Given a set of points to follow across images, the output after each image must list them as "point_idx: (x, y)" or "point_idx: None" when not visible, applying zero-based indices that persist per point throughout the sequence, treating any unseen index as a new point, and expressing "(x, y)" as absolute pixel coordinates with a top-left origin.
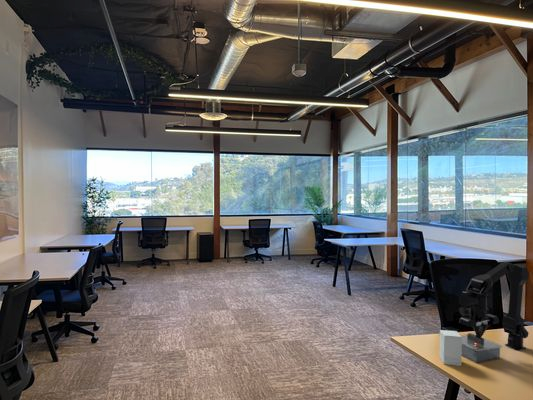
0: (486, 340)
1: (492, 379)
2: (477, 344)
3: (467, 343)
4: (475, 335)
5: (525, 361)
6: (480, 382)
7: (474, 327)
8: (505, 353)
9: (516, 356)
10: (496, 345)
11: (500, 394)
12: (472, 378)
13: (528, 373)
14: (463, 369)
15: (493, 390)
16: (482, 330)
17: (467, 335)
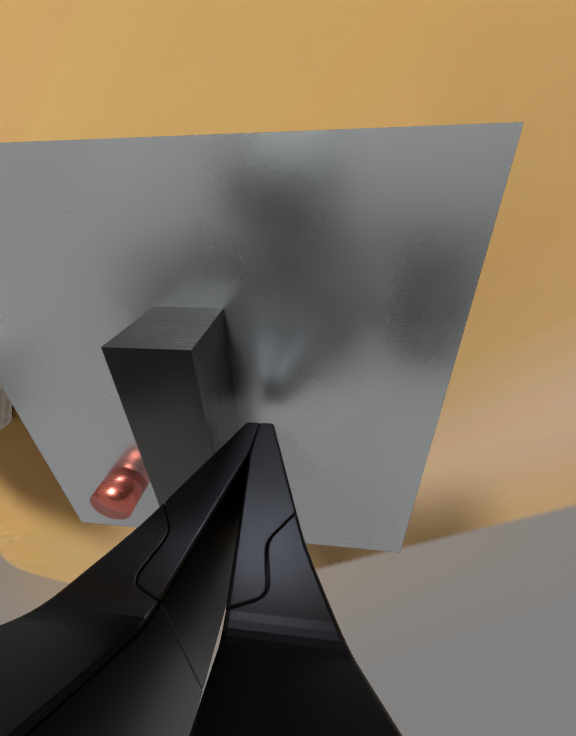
0: (387, 437)
1: (107, 535)
2: (110, 509)
3: (54, 416)
4: (196, 450)
5: (500, 512)
6: (36, 529)
7: (84, 610)
8: (544, 403)
9: (552, 460)
10: (347, 536)
11: (67, 580)
12: (16, 505)
13: (334, 564)
14: (9, 447)
15: (56, 565)
16: (204, 661)
17: (124, 329)
